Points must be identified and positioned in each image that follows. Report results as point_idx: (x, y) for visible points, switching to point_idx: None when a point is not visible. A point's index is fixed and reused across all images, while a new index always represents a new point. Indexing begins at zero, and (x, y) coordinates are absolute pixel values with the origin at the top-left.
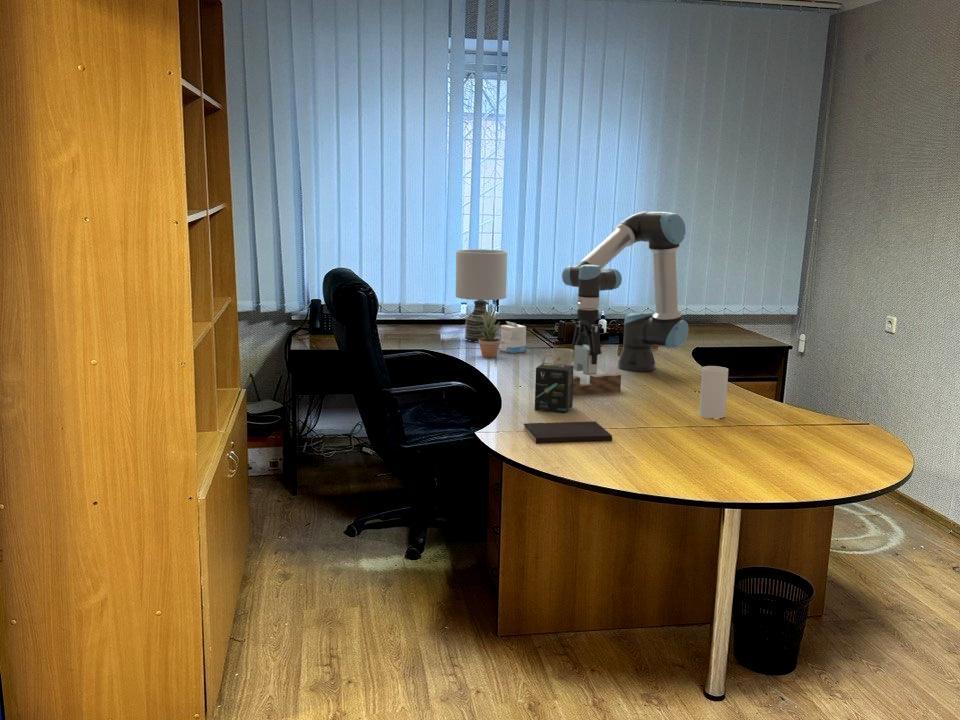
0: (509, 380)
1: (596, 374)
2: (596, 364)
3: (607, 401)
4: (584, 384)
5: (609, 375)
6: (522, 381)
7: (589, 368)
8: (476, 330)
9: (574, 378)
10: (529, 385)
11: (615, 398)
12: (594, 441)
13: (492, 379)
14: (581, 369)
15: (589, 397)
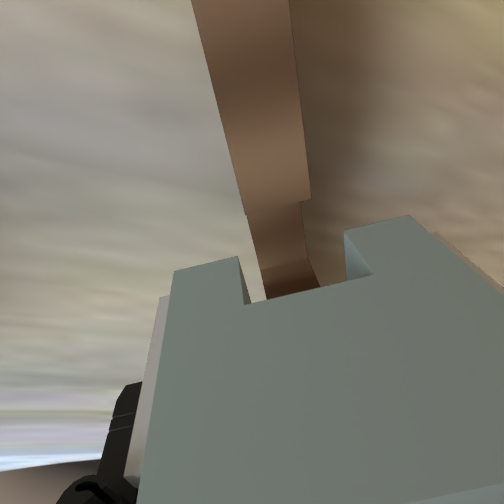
0: (40, 430)
1: (409, 215)
2: (492, 279)
3: (488, 125)
4: (274, 227)
5: (273, 17)
6: (45, 401)
7: None
8: None
9: None
10: (120, 386)
11: (449, 43)
12: None
13: (40, 462)
14: (249, 302)
15: (374, 200)
